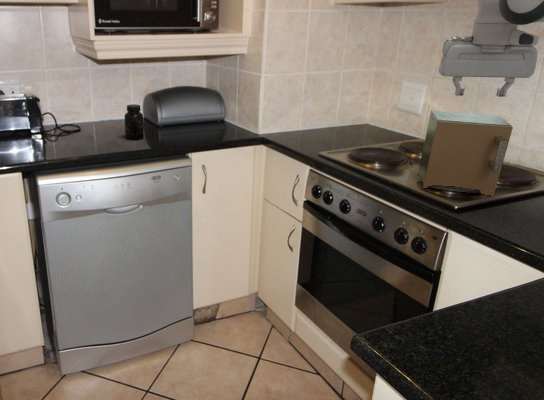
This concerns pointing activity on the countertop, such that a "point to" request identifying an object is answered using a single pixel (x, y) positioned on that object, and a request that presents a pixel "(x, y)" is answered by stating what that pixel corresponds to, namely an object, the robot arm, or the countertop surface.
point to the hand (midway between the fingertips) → (479, 95)
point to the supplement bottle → (134, 123)
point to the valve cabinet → (451, 117)
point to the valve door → (467, 155)
